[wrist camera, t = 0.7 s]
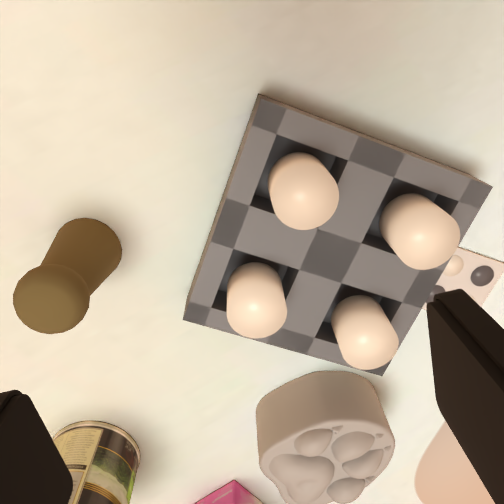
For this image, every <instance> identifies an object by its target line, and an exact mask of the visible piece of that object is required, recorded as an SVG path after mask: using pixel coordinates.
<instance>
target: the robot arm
mask: <svg viewBox="0 0 504 504" xmlns="http://www.w3.org/2000/svg"><path fill="white" fill-rule="evenodd" d="M426 308H427V319H428V328H429V337H430V347H431V356H432V366H433V375H434V385H435V394H436V400H437V404H438V407H439V409H440V412H441V413H442V415H443V417H444V419H445V420H446V422H447V423H448V425H449V427H450V429H451V430H452V432H453V434H454V435H455V437H456V439H457V440H458V442H459V444H460V445H461V447H462V449H463V450H464V452H465V454H466V455H467V457H468V459H469V460H470V462H471V464H472V465H473V467H474V469H475V470H476V472H477V474H478V475H479V477H480V479H481V480H482V482H483V484H484V485H485V487H486V489H487V491H488V492H489V494H490V496H491V497H492V499H493V500H494V502H495V504H504V329H503V328H502V327H501V326H500V325H499V324H498V323H497V322H496V321H495V320H494V319H493V318H492V317H491V316H490V315H489V314H488V313H487V312H486V311H485V310H483V309H482V308H481V307H480V306H479V305H478V304H477V303H476V302H475V301H474V300H473V299H472V298H471V297H470V296H469V295H468V294H467V293H466V292H465V291H464V290H463V289H456V290H451V291H447V292H443V293H438V294H435V295H434V298H433V302H428V303H427V306H426ZM72 491H73V479H72V475H71V473H70V471H69V470H68V468H67V466H66V464H65V462H64V460H63V458H62V457H61V455H60V453H59V451H58V449H57V447H56V445H55V443H54V442H53V440H52V438H51V436H50V434H49V432H48V430H47V429H46V427H45V425H44V423H43V421H42V419H41V417H40V416H39V414H38V412H37V410H36V408H35V406H34V404H33V402H32V401H31V399H30V397H29V396H28V395H26V394H22V393H21V392H20V391H18V390H12V391H7V392H3V393H0V504H68V502H69V499H70V497H71V494H72Z"/></svg>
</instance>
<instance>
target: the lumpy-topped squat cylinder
mask: <svg viewBox="0 0 504 504" xmlns="http://www.w3.org/2000/svg"><path fill="white" fill-rule="evenodd" d="M256 424H257V440H258V453H259V465H260V468H261V471H262V472H263V473H264V475H265V476H266V477H268V478H269V479H270V480H271V481H272V482H273V483H274V484H275V485H276V486H277V488H278V490H279V492H280V494H281V496H282V498H283V499H284V500H285V501H286V502H287V503H288V504H327V503H330V502H333V501H335V502H337V503H340V504H345V503H350V502H352V501H354V500H356V499H357V498H358V497H359V495H360V494H361V493H362V491H363V489H364V488H365V487H366V486H368V485H369V484H370V483H372V482H373V481H374V480H375V479H376V478H377V477H378V476H379V475H380V474H381V473H382V471H383V470H384V469H385V468H386V467H387V465H388V464H389V462H390V460H391V458H392V455H393V452H394V448H395V439H394V436H393V433H392V431H391V429H390V426H389V424H388V421H387V419H386V416H385V414H384V411H383V409H382V407H381V404H380V402H379V399H378V397H377V394H376V392H375V390H374V387H373V385H372V384H371V383H370V382H369V381H368V380H367V379H366V378H364V377H362V376H360V375H357V374H354V373H351V372H346V371H316V372H312V373H309V374H306V375H304V376H301V377H299V378H296V379H294V380H292V381H290V382H288V383H286V384H284V385H282V386H280V387H278V388H277V389H275V390H273V391H271V392H270V393H268V394H267V395H265V396H264V397H263V398H262V399H261V400H260V402H259V403H258V405H257V408H256Z"/></svg>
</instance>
